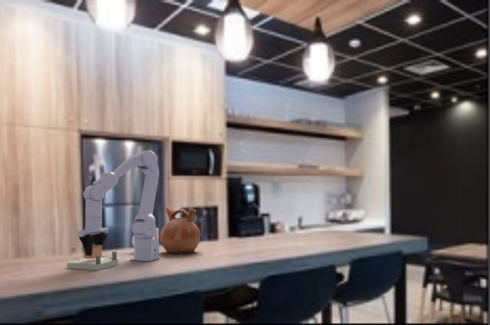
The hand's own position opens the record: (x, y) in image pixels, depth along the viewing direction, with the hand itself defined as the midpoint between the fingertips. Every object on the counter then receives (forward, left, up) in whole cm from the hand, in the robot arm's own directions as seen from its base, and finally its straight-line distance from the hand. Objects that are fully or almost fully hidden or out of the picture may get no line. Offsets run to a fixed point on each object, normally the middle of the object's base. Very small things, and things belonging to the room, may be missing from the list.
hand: (93, 254), depth 155 cm
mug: (+3, -38, -5) cm, 38 cm away
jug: (-14, -40, -5) cm, 43 cm away
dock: (0, 0, -4) cm, 4 cm away
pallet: (+7, -10, -4) cm, 13 cm away
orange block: (0, 0, -1) cm, 1 cm away
